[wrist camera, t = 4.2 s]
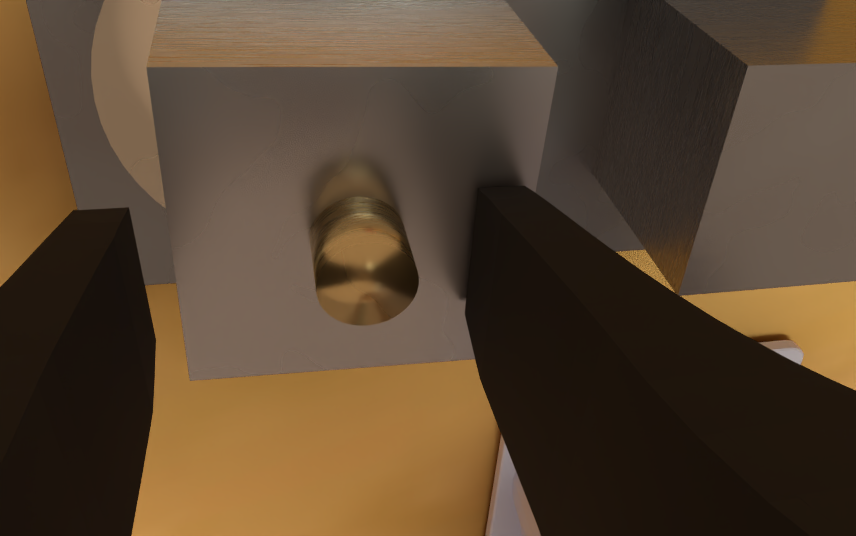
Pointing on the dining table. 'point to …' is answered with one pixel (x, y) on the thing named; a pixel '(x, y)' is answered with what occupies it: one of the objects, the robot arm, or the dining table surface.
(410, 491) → the dining table surface
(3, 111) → the dining table surface
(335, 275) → the block
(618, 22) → the plate
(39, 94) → the dining table surface
